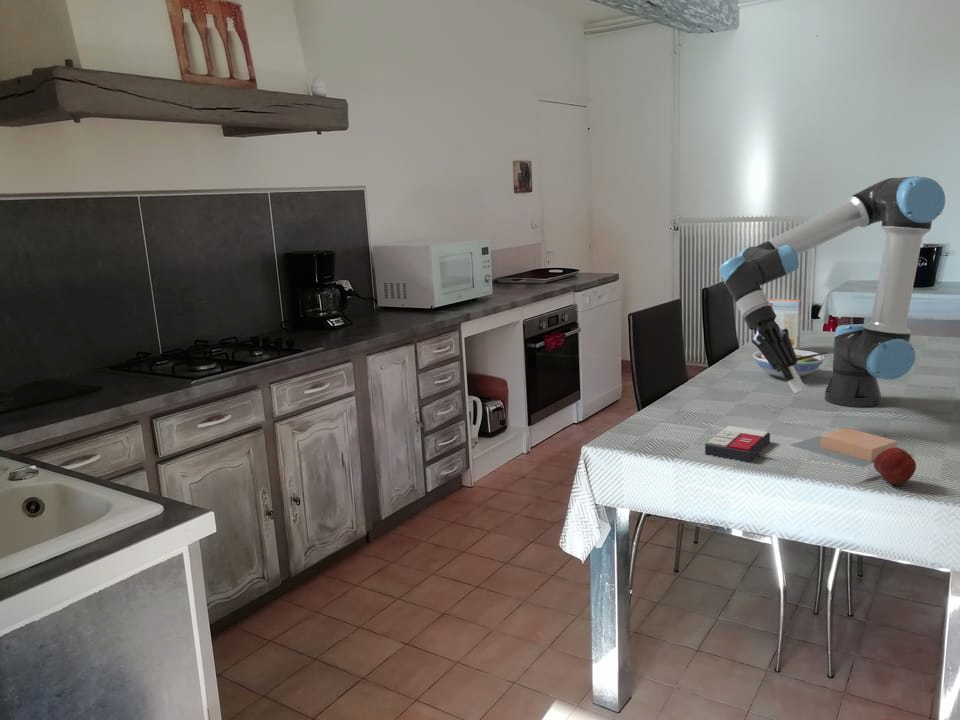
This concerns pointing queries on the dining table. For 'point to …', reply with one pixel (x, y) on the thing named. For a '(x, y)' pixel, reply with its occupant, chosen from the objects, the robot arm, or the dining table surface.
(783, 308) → the cracker box
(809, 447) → the mat
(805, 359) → the ramen bowl
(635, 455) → the dining table surface
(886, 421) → the dining table surface
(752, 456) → the calculator
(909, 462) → the apple
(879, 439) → the block
